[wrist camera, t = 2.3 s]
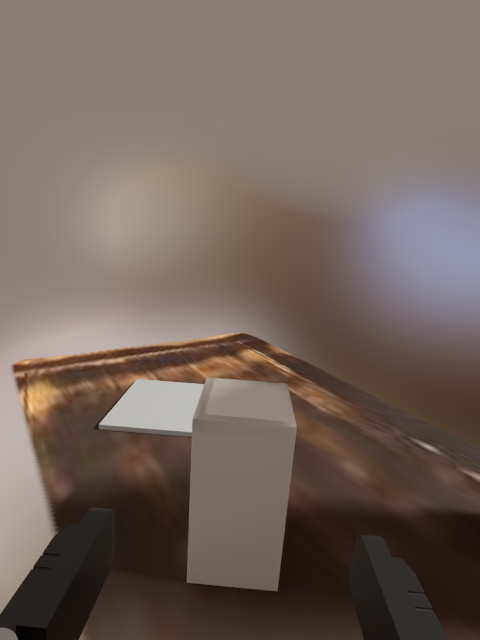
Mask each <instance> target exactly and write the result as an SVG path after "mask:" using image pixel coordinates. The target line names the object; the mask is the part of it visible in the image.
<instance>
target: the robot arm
mask: <svg viewBox="0 0 480 640" xmlns="http://www.w3.org/2000/svg"><path fill="white" fill-rule="evenodd" d="M114 553H115V511H114V509H104V508H94V507H91V508H90V509H89V510H88V511H87V513H86V514H85V516H84V517H83V519H82V520H81V522H80V524H79V525H77V524H69V525H68V526H66V527H65V528H64V529H63V530H62V531H60V532H59V533H58V534H57V535H56V536H54V538H53V539H52V540H51V542H50V543H49V545H48V546H47V548H46V549H45V551H44V552H43V555H42V556H40V558H39V559H38V561H37V562H36V564H35V565H34V568H33V570H31V571H30V572H29V574H28V575H27V577H26V578H25V580H24V581H23V582H22V584H21V585H20V587H19V588H18V590H17V591H16V593H15V594H14V596H13V597H12V599H11V600H10V601H9V603H8V604H7V606H6V607H5V609H4V610H3V611H2V613H1V614H0V640H79V638H80V636H81V633H82V631H83V629H84V627H85V624H86V622H87V620H88V618H89V615H90V613H91V611H92V609H93V606H94V604H95V602H96V600H97V597H98V595H99V593H100V591H101V589H102V586H103V584H104V582H105V580H106V577H107V575H108V573H109V571H110V568H111V565H112V562H113V558H114ZM350 588H351V594H352V598H353V601H354V605H355V609H356V612H357V616H358V619H359V623H360V626H361V630H362V634H363V637H364V640H448V638H447V636H446V634H445V632H444V630H443V628H442V626H441V624H440V622H439V620H438V618H437V616H436V614H435V613H434V612H433V608H432V606H431V604H430V602H429V600H428V598H427V596H425V592H424V590H423V588H422V586H421V584H420V582H419V580H418V577H417V575H416V574H415V573H414V571H413V570H412V569H411V568H410V567H409V566H408V565H407V564H406V562H405V561H404V560H403V559H402V558H399V557H392V555H391V553H390V551H389V548H388V546H387V544H386V542H385V540H384V538H383V537H380V536H370V535H360V534H358V535H357V537H356V542H355V547H354V553H353V558H352V564H351V570H350Z"/></svg>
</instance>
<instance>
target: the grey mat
mask: <svg viewBox="0 0 480 640" xmlns="http://www.w3.org/2000/svg"><path fill="white" fill-rule="evenodd" d="M204 385H205V384H193V383H180V382H168V381H155V380H143V379H137V380H136V381H135V382H134V383H133V385H132V386H131V387H130V388H129V389H128V391H127V392H126V393H125V394H124V395H123V396H122V398H121V399H120V400H119V401H118V402H117V403H116V405H115V406H114V407H113V408H112V409H111V411H110V412H109V413H108V414H107V415H106V416H105V418H104V419H103V420H102V421H101V422H100V423H99V429H102V430H114V431H126V432H137V433H149V434H161V435H173V436H185V437H192V421H193V416H194V413H195V410H196V407H197V405H198V402H199V399H200V396H201V393H202V390H203V387H204Z"/></svg>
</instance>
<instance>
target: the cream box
mask: <svg viewBox="0 0 480 640" xmlns="http://www.w3.org/2000/svg"><path fill="white" fill-rule="evenodd" d="M296 429H297V426H296V422H295V417H294V413H293V409H292V404H291V400H290V395H289V391H288V386H287V384H283V383H270V382H258V381H245V380H232V379H220V378H207V379H206V382H205V385H204V387H203V390H202V393H201V396H200V399H199V402H198V405H197V407H196V410H195V413H194V416H193V421H192V448H191V476H190V503H189V531H188V558H187V583H195V584H205V585H216V586H226V587H237V588H247V589H258V590H268V591H278V583H279V574H280V566H281V557H282V549H283V540H284V531H285V523H286V514H287V506H288V497H289V489H290V480H291V472H292V463H293V454H294V446H295V437H296Z"/></svg>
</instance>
